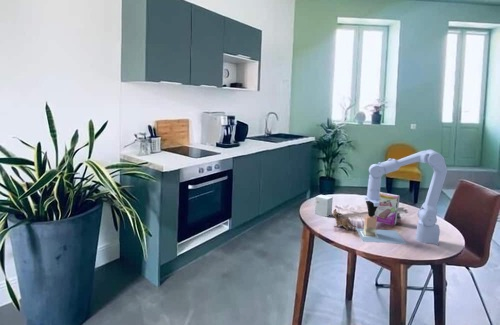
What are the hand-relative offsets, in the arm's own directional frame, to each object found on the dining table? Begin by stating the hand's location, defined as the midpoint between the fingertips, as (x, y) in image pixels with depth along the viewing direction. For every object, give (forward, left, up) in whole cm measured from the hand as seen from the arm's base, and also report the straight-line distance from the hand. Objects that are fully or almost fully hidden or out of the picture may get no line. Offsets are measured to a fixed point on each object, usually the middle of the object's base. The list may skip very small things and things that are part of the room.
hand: (371, 216), depth 176 cm
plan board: (-5, +1, -10) cm, 11 cm away
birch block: (0, 0, -9) cm, 9 cm away
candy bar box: (-13, -19, -10) cm, 25 cm away
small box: (+19, -28, -10) cm, 35 cm away
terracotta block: (0, 0, -5) cm, 5 cm away
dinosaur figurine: (+12, -7, -10) cm, 17 cm away
